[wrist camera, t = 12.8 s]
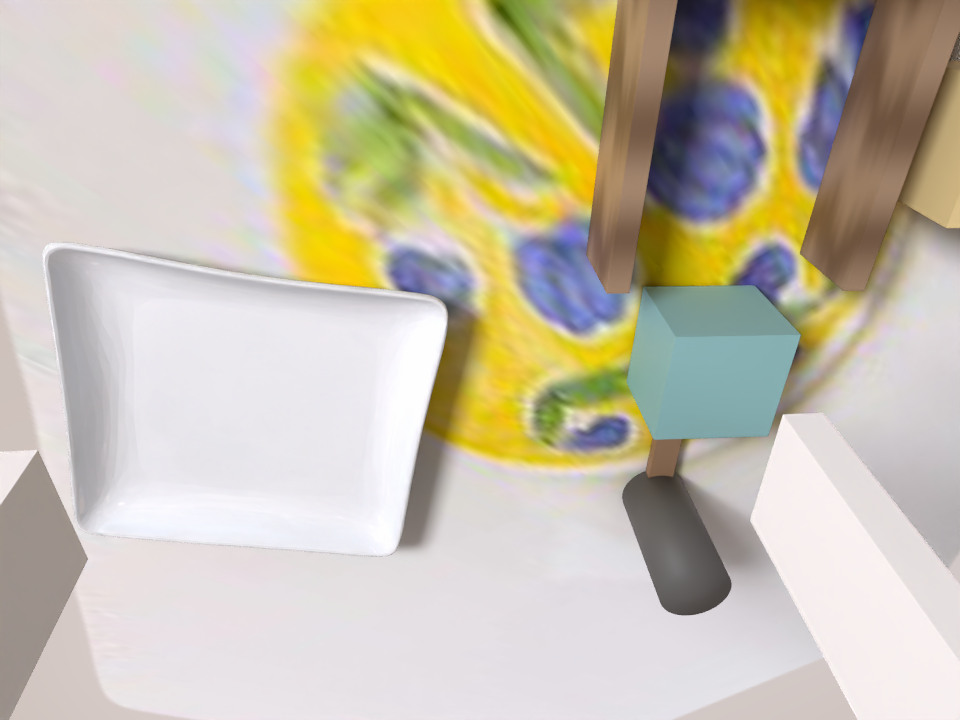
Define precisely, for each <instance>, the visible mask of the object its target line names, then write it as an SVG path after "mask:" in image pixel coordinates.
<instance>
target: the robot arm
mask: <svg viewBox="0 0 960 720" xmlns="http://www.w3.org/2000/svg"><path fill="white" fill-rule="evenodd" d="M750 521H751V523H752V525H753V527H754V529H755V531H756V532H757V534H758V536H759V538H760V540H761V542H762V543H763V545H764V547H765V549H766V551H767V553H768V555H769V556H770V558H771V560H772V562H773V564H774V566H775V568H776V569H777V571H778V573H779V575H780V577H781V579H782V580H783V582H784V584H785V586H786V588H787V590H788V592H789V593H790V595H791V597H792V599H793V601H794V603H795V605H796V606H797V608H798V610H799V612H800V614H801V616H802V618H803V619H804V621H805V623H806V625H807V627H808V629H809V630H810V632H811V634H812V636H813V638H814V640H815V642H816V643H817V645H818V647H819V649H820V651H821V653H822V655H823V656H824V658H825V660H826V662H827V664H828V666H829V667H830V669H831V671H832V673H833V675H834V677H835V679H836V680H837V682H838V684H839V686H840V688H841V690H842V691H843V693H844V695H845V697H846V699H847V701H848V703H849V705H850V706H851V708H852V710H853V712H854V714H855V716H856V717H857V719H858V720H960V584H959V582H958V581H957V580H956V579H955V577H954V576H953V575H952V574H951V572H950V571H949V570H948V569H947V567H946V566H945V565H944V564H943V562H942V561H941V560H940V559H939V557H938V556H937V555H936V554H935V552H934V551H933V550H932V549H931V547H930V546H929V545H928V543H927V542H926V541H925V540H924V538H923V537H922V536H921V535H920V533H919V532H918V531H917V530H916V528H915V527H914V526H913V525H912V523H911V522H910V521H909V520H908V518H907V517H906V516H905V515H904V513H903V512H902V511H901V510H900V508H899V507H898V506H897V505H896V503H895V502H894V501H893V499H892V498H891V497H890V496H889V494H888V493H887V492H886V491H885V489H884V488H883V487H882V486H881V484H880V483H879V482H878V481H877V479H876V478H875V477H874V476H873V474H872V473H871V472H870V471H869V469H868V468H867V467H866V466H865V464H864V463H863V462H862V461H861V459H860V458H859V457H858V455H857V454H856V453H855V452H854V450H853V449H852V448H851V447H850V445H849V444H848V443H847V442H846V440H845V439H844V438H843V437H842V435H841V434H840V433H839V432H838V430H837V429H836V428H835V427H834V425H833V424H832V423H831V422H830V420H829V419H828V418H827V417H826V415H825V414H824V413H802V414H783V416H782V419H781V423H780V426H779V429H778V432H777V435H776V439H775V442H774V445H773V448H772V451H771V455H770V458H769V461H768V464H767V467H766V471H765V474H764V477H763V480H762V483H761V487H760V490H759V493H758V496H757V499H756V503H755V506H754V509H753V512H752V515H751V519H750ZM87 560H88V558H87V556H86V554H85V552H84V549H83V547H82V545H81V543H80V541H79V539H78V536H77V534H76V532H75V530H74V528H73V525H72V523H71V521H70V519H69V517H68V515H67V512H66V510H65V508H64V506H63V504H62V502H61V499H60V497H59V495H58V493H57V491H56V488H55V486H54V484H53V482H52V480H51V478H50V475H49V473H48V471H47V469H46V467H45V465H44V462H43V460H42V458H41V456H40V454H39V451H38V450H29V451H8V452H0V720H9V719H10V717H11V714H12V713H13V710H14V708H15V706H16V704H17V702H18V700H19V698H20V696H21V694H22V692H23V690H24V688H25V686H26V684H27V682H28V680H29V678H30V676H31V674H32V672H33V670H34V668H35V666H36V664H37V661H38V660H39V658H40V656H41V653H42V651H43V649H44V647H45V645H46V643H47V641H48V639H49V637H50V635H51V633H52V631H53V629H54V627H55V625H56V623H57V621H58V619H59V617H60V615H61V613H62V611H63V609H64V607H65V605H66V603H67V601H68V599H69V597H70V594H71V592H72V590H73V588H74V586H75V584H76V582H77V580H78V578H79V576H80V574H81V572H82V570H83V568H84V566H85V564H86V562H87Z"/></svg>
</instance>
